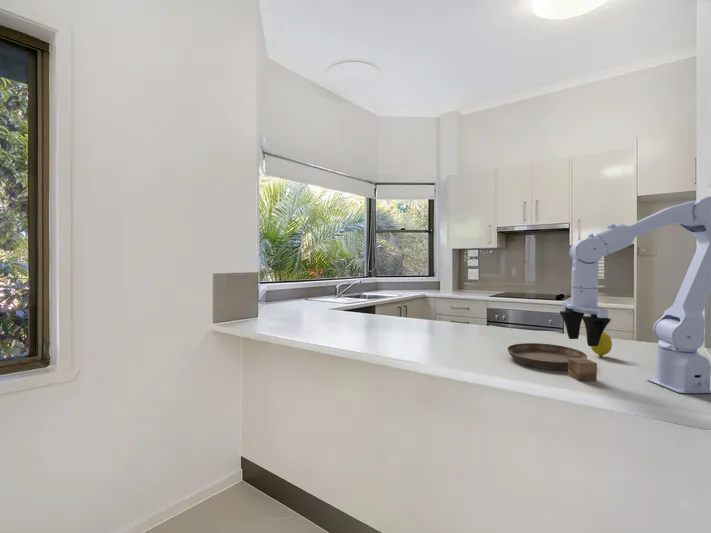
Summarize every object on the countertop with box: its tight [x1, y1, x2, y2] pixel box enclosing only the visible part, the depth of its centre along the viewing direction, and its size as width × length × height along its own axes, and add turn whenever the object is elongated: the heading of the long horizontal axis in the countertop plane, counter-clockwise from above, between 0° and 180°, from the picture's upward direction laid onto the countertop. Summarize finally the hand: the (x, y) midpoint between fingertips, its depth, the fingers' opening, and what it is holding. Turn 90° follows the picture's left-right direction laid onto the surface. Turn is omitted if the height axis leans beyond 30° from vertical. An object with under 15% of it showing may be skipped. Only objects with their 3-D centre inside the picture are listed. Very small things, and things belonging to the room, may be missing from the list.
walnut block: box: [567, 358, 598, 382], centre depth 96 cm, size 4×4×4 cm
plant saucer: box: [506, 342, 588, 371], centre depth 111 cm, size 21×21×3 cm
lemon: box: [590, 331, 613, 358], centre depth 117 cm, size 6×6×8 cm
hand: (582, 342), depth 96 cm, fingers open, 7 cm apart
